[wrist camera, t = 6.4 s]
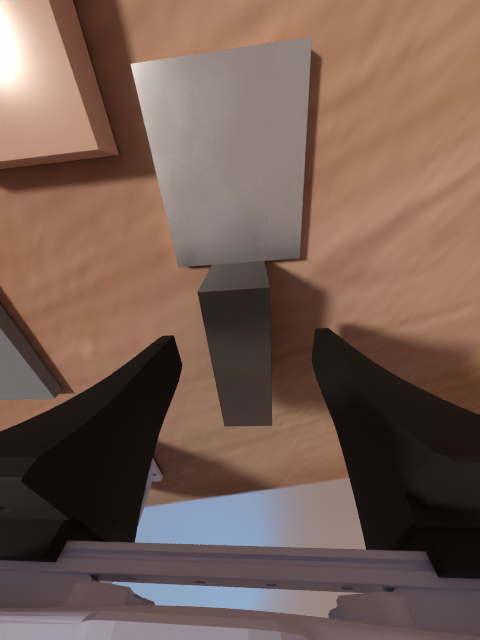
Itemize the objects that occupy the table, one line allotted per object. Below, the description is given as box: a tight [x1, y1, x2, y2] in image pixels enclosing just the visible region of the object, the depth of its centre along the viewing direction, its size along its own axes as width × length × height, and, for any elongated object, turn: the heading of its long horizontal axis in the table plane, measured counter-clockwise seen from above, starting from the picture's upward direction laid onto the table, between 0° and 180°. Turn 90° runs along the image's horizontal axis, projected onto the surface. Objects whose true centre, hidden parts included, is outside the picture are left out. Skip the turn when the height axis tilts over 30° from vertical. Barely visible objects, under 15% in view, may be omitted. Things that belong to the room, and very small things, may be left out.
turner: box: [131, 37, 312, 426], centre depth 10 cm, size 15×6×4 cm, turn 5°
